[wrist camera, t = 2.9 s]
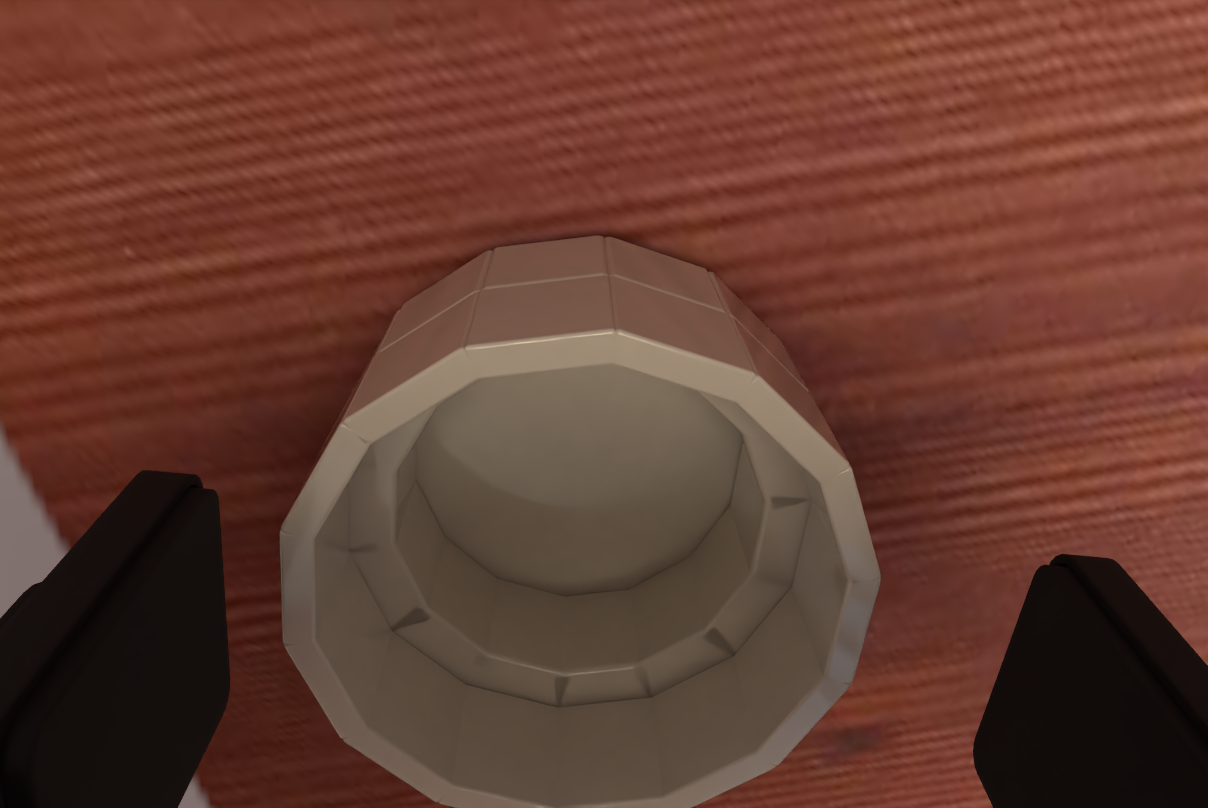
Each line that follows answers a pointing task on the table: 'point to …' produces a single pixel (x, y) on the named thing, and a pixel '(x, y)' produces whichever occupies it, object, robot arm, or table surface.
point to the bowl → (577, 540)
